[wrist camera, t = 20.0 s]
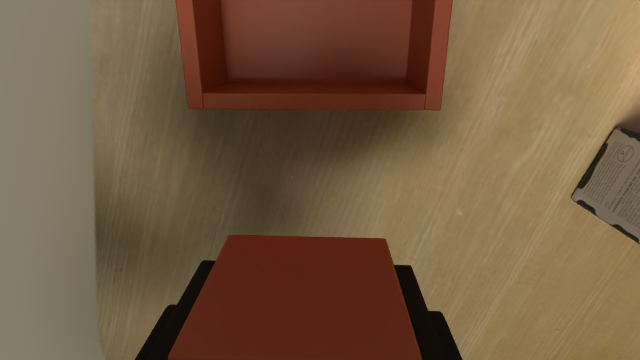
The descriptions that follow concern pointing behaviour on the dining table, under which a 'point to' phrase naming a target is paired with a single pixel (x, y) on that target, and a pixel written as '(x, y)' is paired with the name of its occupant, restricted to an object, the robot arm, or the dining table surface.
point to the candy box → (615, 184)
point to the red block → (299, 303)
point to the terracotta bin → (314, 54)
